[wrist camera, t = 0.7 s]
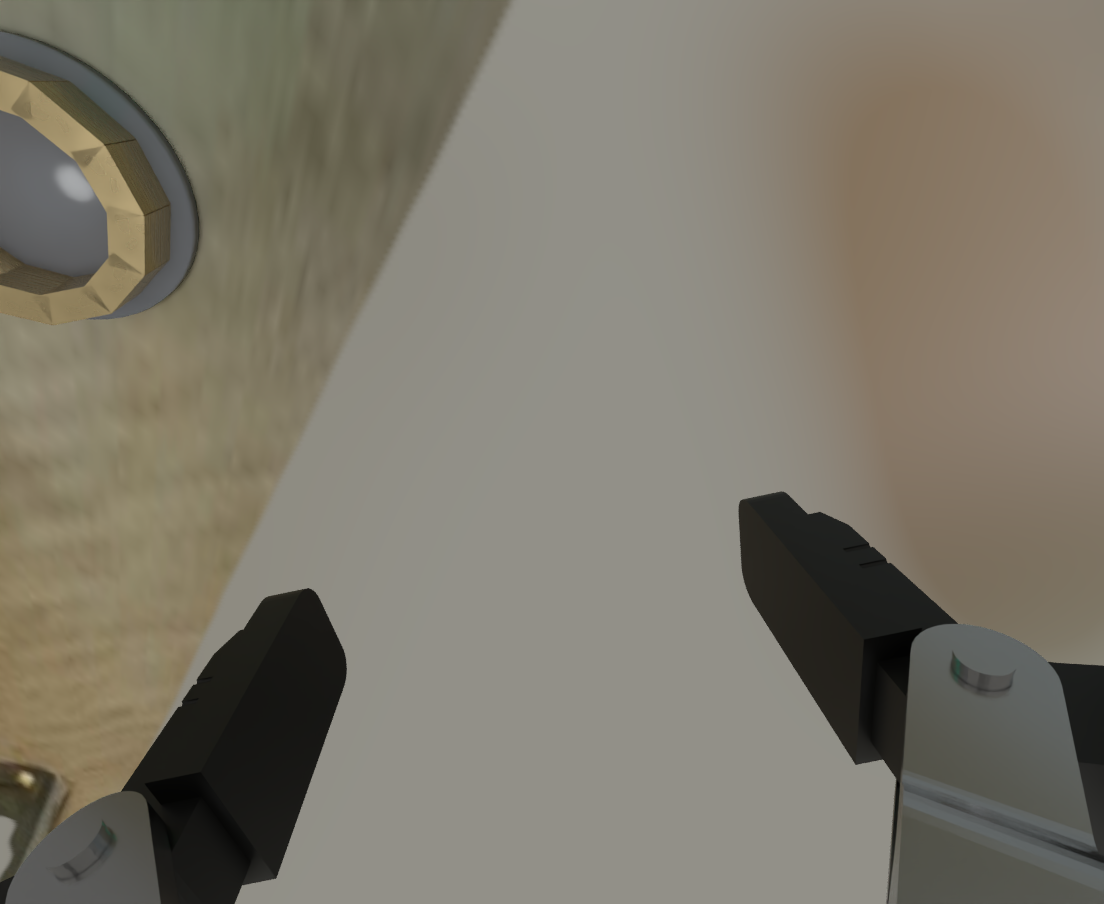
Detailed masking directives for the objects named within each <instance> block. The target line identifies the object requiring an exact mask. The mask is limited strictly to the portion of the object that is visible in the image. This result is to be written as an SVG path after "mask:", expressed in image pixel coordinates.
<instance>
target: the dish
mask: <svg viewBox="0 0 1104 904" xmlns="http://www.w3.org/2000/svg"><path fill="white" fill-rule="evenodd" d="M0 56H3V57H6V58H8V59H11V60H14V61H17V62H19V63H22V64H25V65H27V66H30V67H33V68H36V69H38V70H41V71H44V72H46V73H49V74H52V75H55V76H57V77H60V78H63V79H65V80H68V81H70V82H72V83H73V84H74V85H75V86H77V87H78V88H79V89H80V90H81V91H82V92H83V93H85V94H86V95H87V96H88V97H89V98H90V99H91V100H93V101H94V102H95V103H96V104H97V105H98V106H99V107H101V108H102V109H103V110H104V111H105V112H106V113H107V114H109V115H110V116H111V117H112V118H113V119H114V120H115V121H117V122H118V123H119V124H120V125H121V126H122V127H123V128H125V129H126V130H127V131H128V132H129V133H130V134H131V135H133V136H134V137H135V138H136V140H138V142H139V144H140V146H141V148H142V150H143V152H144V154H145V156H146V158H147V160H148V161H149V163H150V165H151V167H152V169H153V171H154V173H155V175H156V177H157V179H158V180H159V182H160V184H161V186H162V188H163V190H164V192H165V194H166V196H167V198H168V199H169V201H170V203H171V231H170V260H169V261H168V262H167V263H166V265H165V266H164V267H163V268H162V269H161V270H160V271H159V273H158V274H157V275H156V276H155V277H154V278H153V279H152V280H151V282H150V283H149V284H148V285H147V286H146V287H145V288H144V290H143V291H142V292H141V293H140V294H139V295H138V296H136V297H135V298H133V299H132V300H131V301H129V302H128V303H126V304H125V305H123V306H122V307H120V308H119V309H117V310H116V311H115V312H113V313H111V314H108V315H103V316H97V317H92V318H87V319H113V318H120V317H125V316H129V315H133V314H137V313H139V312H142V311H144V310H146V309H148V308H151V307H152V306H154V305H155V304H157V303H158V302H160V301H162V300H163V299H164V298H166V297H167V296H168V295H170V294H171V293H172V292H173V291H174V290H175V289H176V288H177V287H178V286H179V285H180V284H181V283H182V281H183V280H184V279H185V277H186V276H187V274H188V272H189V270H190V268H191V266H192V264H193V262H194V259H195V255H196V252H197V247H198V239H199V220H198V213H197V207H196V202H195V198H194V195H193V192H192V189H191V185H190V183H189V180H188V178H187V176H186V173H185V171H184V169H183V166H182V165H181V163H180V161H179V159H178V158H177V156H176V154H175V152H174V150H173V149H172V147H171V146H170V144H169V143H168V141H167V140H166V138H165V137H164V136H163V134H162V133H161V131H160V130H159V129H158V127H157V126H156V125H155V124H154V123H153V122H152V120H151V119H150V118H149V117H148V116H147V114H146V113H145V112H144V111H143V110H142V109H141V108H140V107H139V106H138V105H137V104H136V103H135V102H134V101H133V100H132V99H131V98H130V97H129V96H128V95H127V94H126V93H124V92H123V91H122V90H121V89H119V88H118V87H117V86H116V85H115V84H113V83H112V82H111V81H110V80H109V79H107V78H106V77H104V76H103V75H102V74H100V73H99V72H97V71H96V70H94V69H93V68H91V67H90V66H89V65H87V64H85V63H83V62H82V61H80V60H78V59H76V58H75V57H73V56H71V55H69V54H68V53H66V52H64V51H61V50H59V49H57V48H55V47H52V46H50V45H48V44H46V43H43V42H41V41H38V40H34V39H31V38H28V37H25V36H22V35H19V34H14V33H9V32H4V31H0ZM0 247H1V248H2V249H4V250H5V251H6V252H8V253H9V254H11V255H12V256H14V257H15V258H17V259H18V260H20V261H21V262H23V263H24V264H27V265H30V266H34V267H38V268H42V269H45V270H49V271H53V272H57V273H60V274H64V275H68V276H72V277H79V276H84V275H89V274H94V273H96V272H97V271H98V270H99V268H100V267H101V266H102V265H103V264H104V262H105V261H106V260H107V259H108V258H109V256H108V231H107V212H106V211H105V209H104V207H103V206H102V204H101V202H100V201H99V199H98V197H97V196H96V194H95V192H94V191H93V189H92V187H91V186H90V184H89V182H88V181H87V179H86V177H85V176H84V174H83V172H82V170H81V169H80V167H79V165H78V164H77V162H76V161H75V160H74V159H72V158H71V157H70V156H69V155H67V154H66V153H65V152H64V151H62V150H61V149H60V148H59V147H57V146H56V145H55V144H54V143H52V142H51V141H50V140H49V139H48V138H46V137H45V136H44V135H43V134H41V133H40V132H39V131H38V130H36V129H35V128H34V127H33V126H31V125H30V124H29V123H28V122H26V121H25V120H24V119H23V118H21V117H19V116H16V115H13V114H10V113H7V112H4V111H1V110H0Z"/></svg>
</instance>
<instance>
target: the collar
mask: <svg viewBox="0 0 1104 904" xmlns="http://www.w3.org/2000/svg"><path fill="white" fill-rule="evenodd" d="M0 110H1V111H4V112H7V113H10V114H13V115H16V116H19V117H21V118H23V119H24V120H25V121H26V122H28V123H29V124H30V125H31V126H33V127H34V128H35V129H36V130H38V131H39V132H40V133H41V134H43V135H44V136H45V137H46V138H48V139H49V140H50V141H51V142H52V143H54V144H55V145H56V146H57V147H59V148H60V149H61V150H62V151H64V152H65V153H66V154H67V155H69V156H70V157H71V158H72V159H74V160H75V161H76V162H77V164H78V165H79V167H80V169H81V170H82V172H83V174H84V176H85V177H86V179H87V181H88V182H89V184H90V186H91V187H92V189H93V191H94V192H95V194H96V196H97V197H98V199H99V201H100V202H101V204H102V206H103V207H104V209H105V211H106V212H107V231H108V256H109V258H108V259H107V260H106V261H105V262H104V264H103V265H102V266H101V267H100V268H99V270H98V271H97V272H96V273H94V274H89V275H84V276H79V277H72V276H68V275H64V274H60V273H57V272H53V271H49V270H45V269H42V268H38V267H34V266H30V265H27V264H24V263H23V262H21V261H20V260H18V259H17V258H15V257H14V256H12V255H11V254H9V253H8V252H6V251H5V250H4V249H2V248H1V247H0V313H4V314H8V315H12V316H16V317H20V318H25V319H29V320H33V321H37V322H41V323H45V324H50V325H57V324H62V323H67V322H72V321H77V320H82V319H87V318H92V317H97V316H103V315H108V314H111V313H113V312H115V311H116V310H117V309H119V308H120V307H122V306H123V305H125V304H126V303H128V302H129V301H131V300H132V299H133V298H135V297H136V296H138V295H139V294H140V293H141V292H142V291H143V290H144V288H145V287H146V286H147V285H148V284H149V283H150V282H151V280H152V279H153V278H154V277H155V276H156V275H157V274H158V273H159V271H160V270H161V269H162V268H163V267H164V266H165V265H166V263H167V262H168V261H169V260H170V231H171V203H170V201H169V199H168V198H167V196H166V194H165V192H164V190H163V188H162V186H161V184H160V182H159V180H158V179H157V177H156V175H155V173H154V171H153V169H152V167H151V165H150V163H149V161H148V160H147V158H146V156H145V154H144V152H143V150H142V148H141V146H140V144H139V142H138V140H136V138H135V137H134V136H133V135H131V134H130V133H129V132H128V131H127V130H126V129H125V128H123V127H122V126H121V125H120V124H119V123H118V122H117V121H115V120H114V119H113V118H112V117H111V116H110V115H109V114H107V113H106V112H105V111H104V110H103V109H102V108H101V107H99V106H98V105H97V104H96V103H95V102H94V101H93V100H91V99H90V98H89V97H88V96H87V95H86V94H85V93H83V92H82V91H81V90H80V89H79V88H78V87H77V86H75V85H74V84H73V83H72V82H70V81H68V80H65V79H63V78H60V77H57V76H55V75H52V74H49V73H46V72H44V71H41V70H38V69H36V68H33V67H30V66H27V65H25V64H22V63H19V62H17V61H14V60H11V59H8V58H6V57H3V56H0Z"/></svg>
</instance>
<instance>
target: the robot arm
mask: <svg viewBox="0 0 1104 904" xmlns="http://www.w3.org/2000/svg"><path fill="white" fill-rule="evenodd" d="M739 527H740V543H741V544H740V546H741V563H742V573H743V578H744V582H745V585H746V589H747V591H748V593H749V596H750V598H751V600H752V602H753V604H754V605H755V607H756V608H757V610H758V612H759V613H760V615H761V616H762V618H763V619H764V621H765V623H766V624H767V626H768V627H769V629H770V630H771V632H772V633H773V635H774V637H775V638H776V640H777V641H778V643H779V645H780V646H781V648H782V649H783V651H784V653H785V654H786V655H787V657H788V659H789V660H790V662H791V664H792V665H793V667H794V668H795V670H796V671H797V673H798V675H799V676H800V678H801V679H802V681H803V682H804V684H805V685H806V687H807V689H808V690H809V692H810V694H811V695H812V697H813V698H814V700H815V701H816V703H817V705H818V706H819V707H820V709H821V711H822V712H823V714H824V715H825V717H826V719H827V720H828V722H829V723H830V725H831V727H832V728H833V730H834V731H835V733H836V734H837V736H838V737H839V739H840V741H841V742H842V744H843V746H844V747H845V749H846V750H847V752H848V753H849V755H850V756H851V758H852V760H853V761H854V763H855V764H856V765H857V764H862V763H867V762H872V761H877V760H882V759H883V760H884V761H885V763H886V764H887V766H888V767H889V769H890V770H891V771H892V773H893V774H894V776H895V777H896V784H895V795H894V808H893V820H892V833H891V846H890V859H889V872H888V886H887V899H886V904H1104V666H1098V665H1082V664H1064V663H1053V662H1047V661H1046V660H1045V659H1044V658H1043V657H1042V656H1041V655H1039V654H1038V653H1037V652H1036V651H1034V650H1033V649H1031V648H1030V647H1028V646H1027V645H1025V644H1023V643H1022V642H1020V641H1018V640H1016V639H1014V638H1012V637H1010V636H1007V635H1005V634H1003V633H999V632H997V631H994V630H991V629H987V628H983V627H979V626H973V625H965V624H958V623H957V622H956V621H955V620H953V619H952V618H951V617H950V616H949V615H948V614H947V613H946V612H945V611H943V610H942V609H941V608H940V607H939V606H938V605H937V604H936V603H935V602H934V601H932V600H931V599H930V598H929V597H928V596H927V595H926V594H925V593H924V592H922V591H921V590H920V589H919V588H918V587H917V586H916V585H915V584H913V583H912V582H911V581H910V580H909V579H908V578H907V577H906V576H905V575H903V574H902V573H901V572H900V571H899V570H898V569H897V568H896V567H895V566H894V565H892V564H891V563H887V561H886V558H885V557H884V556H883V555H881V554H880V553H879V552H878V551H877V550H876V549H875V548H873V547H870V546H869V543H868V542H867V541H866V540H865V539H864V538H863V537H861V536H860V535H859V534H858V533H857V532H856V531H855V530H853V528H852V527H850V526H849V525H847V524H845V523H843V522H841V521H839V520H837V519H834V518H832V517H830V516H828V515H826V514H823V513H821V512H818V513H813V514H807V513H806V512H805V511H804V510H803V509H802V508H801V507H800V506H799V505H798V504H797V503H796V502H795V501H794V500H793V499H792V498H791V497H790V496H789V495H788V494H787V493H785V492H777V493H772V494H767V495H763V496H757V497H753V498H748V499H743V500H741V501H740V504H739ZM346 671H347V668H346V657H345V653H344V650H343V648H342V646H341V644H340V641H339V639H338V637H337V635H336V633H335V631H334V628H333V626H332V624H331V622H330V620H329V618H328V616H327V614H326V611H325V609H324V607H323V605H322V603H321V601H320V599H319V597H318V595H317V594H316V592H314V591H313V590H312V589H309V588H307V589H302V590H297V591H292V592H288V593H283V594H278V595H273V596H268V597H266V598H265V599H264V600H263V601H262V602H261V603H260V605H259V606H258V608H257V609H256V611H255V613H254V614H253V616H252V617H251V619H250V620H249V622H248V623H247V625H246V627H245V628H244V630H240V631H239V632H238V633H236V634H235V635H234V636H233V637H232V638H231V639H230V640H229V641H228V642H227V643H226V644H224V645H223V646H222V647H221V648H220V649H219V650H218V651H217V652H216V653H215V654H214V655H213V657H212V658H211V659H210V661H209V662H208V664H207V665H206V667H205V668H204V670H203V671H202V673H201V674H200V676H199V677H198V679H197V684H196V685H193V686H192V688H191V689H190V690H189V692H188V693H187V695H186V696H185V698H184V699H183V701H182V703H183V704H182V706H181V707H178V708H177V710H176V711H175V712H174V714H173V715H172V717H171V718H170V720H169V721H168V723H167V724H166V726H165V727H164V729H163V730H162V732H161V733H160V735H159V736H158V738H157V739H156V741H155V742H154V743H153V745H152V746H151V748H150V749H149V751H148V752H147V754H146V755H145V757H144V758H143V760H142V761H141V763H140V764H139V766H138V767H137V769H136V770H135V772H134V773H133V775H132V776H131V777H130V779H129V780H128V782H127V783H126V785H125V786H124V788H123V789H122V791H121V792H118V793H114V794H111V795H108V796H105V797H103V798H100V799H98V800H96V801H94V802H92V803H90V804H89V805H87V806H85V807H84V808H82V809H80V810H79V811H77V812H76V813H74V814H73V815H71V816H70V817H69V818H67V819H66V820H65V821H64V822H62V823H61V824H60V825H58V826H57V827H56V828H55V829H54V830H53V831H52V832H51V833H49V834H48V835H47V836H46V837H45V838H44V839H43V840H42V841H41V842H40V843H39V844H38V845H37V846H36V847H35V849H34V850H33V851H32V852H31V853H30V855H29V856H28V857H27V858H26V860H25V861H24V862H23V864H22V865H21V866H20V868H19V869H18V871H17V873H16V874H15V876H13V877H11V878H9V879H6V880H4V881H2V882H0V904H235V901H236V899H237V896H238V894H239V891H240V889H241V886H242V885H246V884H251V883H256V882H261V881H266V880H271V879H276V878H277V875H278V872H279V869H280V866H281V863H282V860H283V858H284V855H285V852H286V849H287V846H288V843H289V841H290V838H291V835H292V832H293V829H294V827H295V823H296V821H297V818H298V815H299V812H300V809H301V807H302V804H303V801H304V798H305V795H306V793H307V790H308V787H309V784H310V781H311V778H312V775H313V773H314V770H315V767H316V764H317V761H318V758H319V756H320V753H321V750H322V747H323V744H324V742H325V738H326V736H327V733H328V730H329V727H330V725H331V722H332V719H333V716H334V713H335V710H336V707H337V705H338V702H339V699H340V696H341V693H342V691H343V688H344V685H345V680H346Z"/></svg>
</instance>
